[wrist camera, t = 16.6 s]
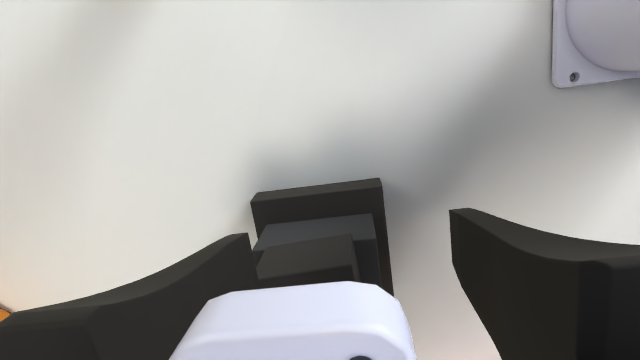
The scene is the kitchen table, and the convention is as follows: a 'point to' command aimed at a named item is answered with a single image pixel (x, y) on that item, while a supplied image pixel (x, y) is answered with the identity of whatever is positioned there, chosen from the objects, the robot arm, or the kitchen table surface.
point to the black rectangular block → (327, 227)
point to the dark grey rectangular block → (309, 263)
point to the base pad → (328, 211)
